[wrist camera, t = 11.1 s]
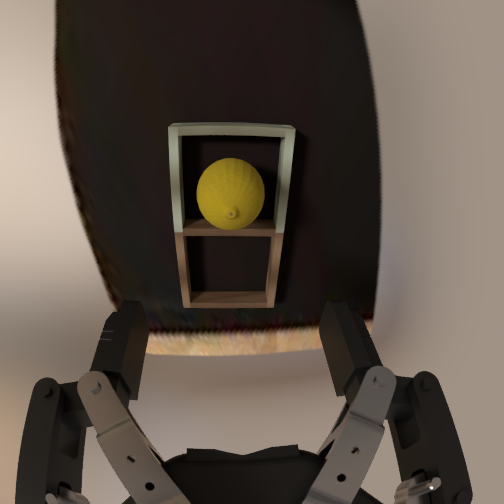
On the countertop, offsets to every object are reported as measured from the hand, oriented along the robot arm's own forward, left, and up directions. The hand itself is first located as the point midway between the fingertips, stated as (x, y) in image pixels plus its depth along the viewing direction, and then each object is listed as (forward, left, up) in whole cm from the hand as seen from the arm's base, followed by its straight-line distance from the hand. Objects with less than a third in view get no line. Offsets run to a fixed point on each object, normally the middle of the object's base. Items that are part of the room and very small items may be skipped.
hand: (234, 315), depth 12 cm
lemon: (0, 0, -18) cm, 18 cm away
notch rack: (+5, 0, -18) cm, 18 cm away
